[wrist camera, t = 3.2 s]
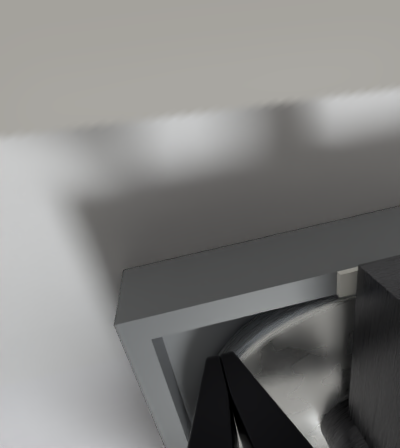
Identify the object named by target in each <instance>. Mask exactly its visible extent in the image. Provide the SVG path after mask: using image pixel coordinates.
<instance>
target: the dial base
mask: <svg viewBox="0 0 400 448" xmlns="http://www.w3.org/2000/svg"><path fill="white" fill-rule="evenodd" d="M397 255H400V206H398V207H394V208H389V209H385V210H381V211H376V212H372V213H368V214H363V215H359V216H355V217H351V218H346V219H342V220H338V221H333V222H329V223H325V224H320V225H316V226H312V227H307V228H303V229H299V230H295V231H290V232H286V233H282V234H277V235H273V236H269V237H264V238H260V239H256V240H251V241H247V242H243V243H238V244H234V245H230V246H226V247H221V248H217V249H213V250H208V251H204V252H200V253H195V254H191V255H187V256H182V257H178V258H174V259H170V260H165V261H161V262H157V263H152V264H148V265H144V266H139V267H135V268H131V269H126V270H124V271H123V277H122V283H121V288H120V294H119V300H118V305H117V311H116V317H115V322H114V327H115V329H116V331H117V334H118V336H119V338H120V341H121V343H122V346H123V348H124V350H125V353H126V355H127V358H128V360H129V362H130V365H131V367H132V369H133V372H134V374H135V377H136V379H137V381H138V384H139V386H140V389H141V391H142V393H143V396H144V398H145V400H146V403H147V405H148V408H149V410H150V412H151V415H152V417H153V419H154V422H155V424H156V427H157V429H158V431H159V434H160V436H161V439H162V441H163V443H164V446H165V448H187V446H188V441H189V436H190V432H191V427H192V422H193V417H194V413H195V408H196V403H197V398H198V394H199V389H200V384H201V379H202V375H203V370H204V365H205V360H206V358H207V357H209V356H213V355H218V353H219V352H220V351H221V349H222V348H223V347H224V346H225V344H226V343H227V342H228V341H229V340H230V339H231V338H232V337H233V336H234V335H235V334H236V333H237V332H238V331H239V330H240V329H241V328H242V327H243V326H244V325H245V324H246V323H248V322H249V321H250V320H251V319H253V318H254V317H255V316H256V315H257V314H259V313H261V312H265V311H270V310H274V309H278V308H282V307H286V306H290V305H294V304H298V303H302V302H306V301H310V300H314V299H319V298H323V297H327V296H331V295H335V294H337V295H338V296H339V297H344V296H349V295H353V294H356V288H357V273H358V265H359V264H363V263H368V262H372V261H376V260H380V259H384V258H388V257H393V256H397Z"/></svg>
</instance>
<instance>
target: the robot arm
mask: <svg viewBox="0 0 400 448" xmlns="http://www.w3.org/2000/svg"><path fill="white" fill-rule="evenodd" d="M220 358H221V359H220ZM235 423H236V424H235ZM236 427H237V429H236ZM237 431H238V433H237ZM238 434H239V438H240V441H241V444H242V447H243V448H313V446H312V445H311V444H310V443H309V442H308V440H307V439H306V438H305V437H304V436H303V434H302V433H301V432H300V431H299V430H298V428H297V427H296V426H295V425H294V424H293V422H292V421H291V420H290V419H289V418H288V416H287V415H286V414H285V413H284V412H283V410H282V409H281V408H280V407H279V406H278V404H277V403H276V402H275V401H274V400H273V398H272V397H271V396H270V395H269V394H268V392H267V391H266V390H265V389H264V388H263V386H262V385H261V384H260V383H259V382H258V380H257V379H256V378H255V377H254V376H253V374H252V373H251V372H250V371H249V370H248V368H247V367H246V366H245V365H244V364H243V362H242V361H241V360H240V359H239V358H238V356H237V355H236V354H235V353H234V352H233V351H229V352H225V353H222V354H221V355H220V356H219V355H213V356H209V357H207V358H206V360H205V365H204V370H203V375H202V379H201V384H200V389H199V394H198V398H197V403H196V408H195V413H194V417H193V422H192V427H191V432H190V436H189V441H188V446H187V448H240V447H239V440H238Z"/></svg>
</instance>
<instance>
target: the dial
mask: <svg viewBox="0 0 400 448" xmlns="http://www.w3.org/2000/svg"><path fill="white" fill-rule="evenodd" d="M229 351H233V352H234V353H235V354H236V355H237V356H238V358H239V359H240V360H241V361H242V362H243V364H244V365H245V366H246V367H247V368H248V370H249V371H250V372H251V373H252V374H253V376H254V377H255V378H256V379H257V380H258V382H259V383H260V384H261V385H262V386H263V388H264V389H265V390H266V391H267V392H268V394H269V395H270V396H271V397H272V398H273V400H274V401H275V402H276V403H277V404H278V406H279V407H280V408H281V409H282V410H283V412H284V413H285V414H286V415H287V416H288V418H289V419H290V420H291V421H292V422H293V424H294V425H295V426H296V427H297V428H298V430H299V431H300V432H301V433H302V434H303V436H304V437H305V438H306V439H307V440H308V442H309V443H310V444H311V445H312V446H313V448H400V255H397V256H393V257H388V258H384V259H380V260H376V261H372V262H368V263H363V264H359V265H358V273H357V288H356V294H353V295H349V296H344V297H339V296H338V295H337V294H335V295H331V296H327V297H323V298H319V299H314V300H310V301H306V302H302V303H298V304H294V305H290V306H286V307H282V308H278V309H274V310H270V311H265V312H261V313H259V314H257V315H256V316H255V317H254V318H253V319H251V320H250V321H249V322H248V323H246V324H245V325H244V326H243V327H242V328H241V329H240V330H239V331H238V332H237V333H236V334H235V335H234V336H233V337H232V338H231V339H230V340H229V341H228V342H227V343H226V344H225V346H224V347H223V348H222V349H221V351H220V352H219V353H218V355H219V356H220V355H221V354H222V353H225V352H229ZM220 359H221V358H220ZM235 424H236V423H235ZM236 429H237V427H236ZM237 433H238V431H237ZM238 440H239V447H240V448H243V447H242V444H241V441H240V438H239V434H238Z"/></svg>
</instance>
